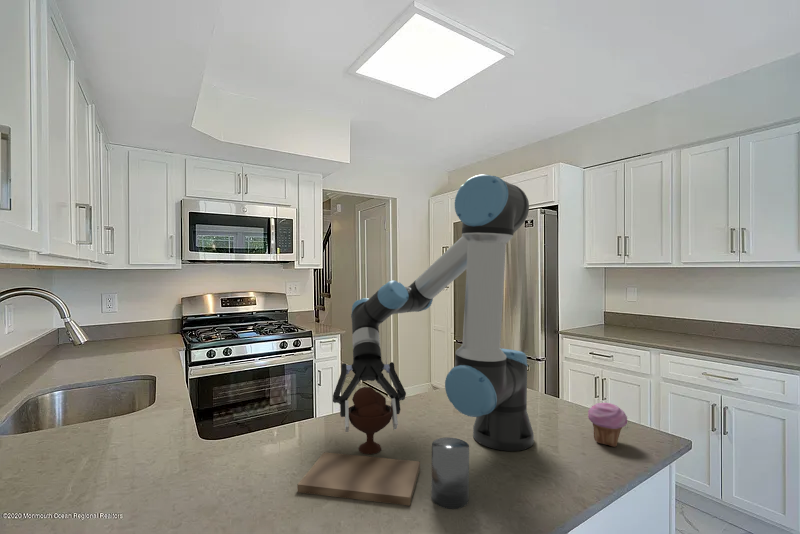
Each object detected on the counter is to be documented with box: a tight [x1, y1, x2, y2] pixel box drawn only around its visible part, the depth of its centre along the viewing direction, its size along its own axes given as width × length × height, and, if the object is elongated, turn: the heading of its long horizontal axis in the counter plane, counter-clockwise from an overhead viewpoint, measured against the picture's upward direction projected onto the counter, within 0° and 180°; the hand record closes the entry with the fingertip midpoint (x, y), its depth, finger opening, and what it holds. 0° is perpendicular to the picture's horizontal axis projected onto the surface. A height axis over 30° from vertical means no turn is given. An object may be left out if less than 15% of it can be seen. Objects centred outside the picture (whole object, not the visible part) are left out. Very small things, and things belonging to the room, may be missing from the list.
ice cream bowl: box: [349, 386, 393, 455], centre depth 96 cm, size 11×11×15 cm
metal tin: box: [430, 436, 470, 510], centre depth 76 cm, size 7×7×10 cm
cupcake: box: [587, 402, 628, 448], centre depth 101 cm, size 9×9×10 cm
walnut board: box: [296, 451, 421, 507], centre depth 82 cm, size 22×14×2 cm, turn 80°
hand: (371, 428), depth 93 cm, fingers closed on ice cream bowl, 11 cm apart
